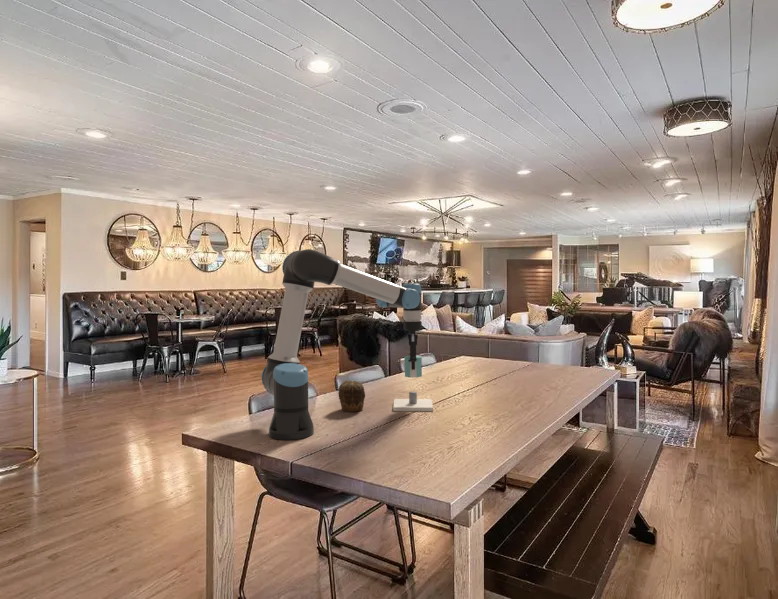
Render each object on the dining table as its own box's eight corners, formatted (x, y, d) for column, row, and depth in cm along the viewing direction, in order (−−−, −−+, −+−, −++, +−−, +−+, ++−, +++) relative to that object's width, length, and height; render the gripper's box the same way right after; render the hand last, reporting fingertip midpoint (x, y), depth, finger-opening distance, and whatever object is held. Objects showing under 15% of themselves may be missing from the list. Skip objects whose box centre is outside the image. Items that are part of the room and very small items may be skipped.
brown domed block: (333, 411, 204) (332, 382, 203) (347, 405, 213) (347, 377, 213) (356, 414, 198) (355, 384, 198) (370, 408, 208) (369, 379, 208)
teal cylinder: (422, 377, 207) (421, 358, 206) (404, 377, 207) (404, 358, 207) (421, 374, 214) (421, 355, 214) (404, 374, 214) (404, 355, 214)
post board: (433, 411, 203) (432, 396, 203) (393, 411, 204) (393, 396, 203) (431, 402, 218) (431, 388, 218) (394, 402, 219) (394, 388, 218)
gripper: (422, 322, 200) (422, 380, 200) (421, 318, 220) (421, 371, 220) (403, 322, 200) (404, 380, 201) (403, 318, 220) (404, 371, 221)
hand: (413, 375), depth 210 cm, fingers closed on teal cylinder, 7 cm apart
